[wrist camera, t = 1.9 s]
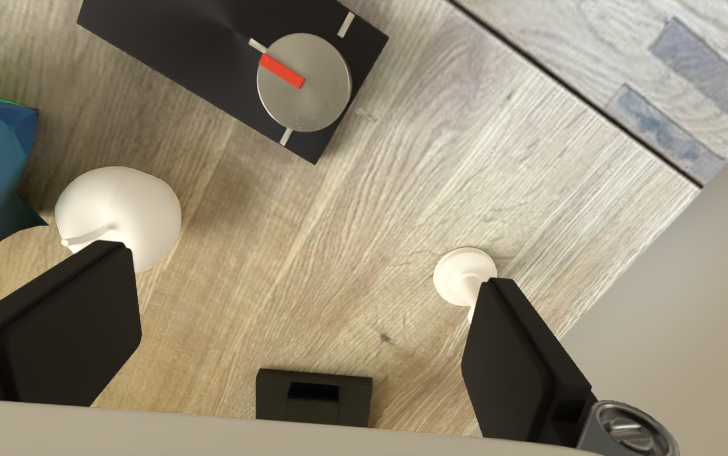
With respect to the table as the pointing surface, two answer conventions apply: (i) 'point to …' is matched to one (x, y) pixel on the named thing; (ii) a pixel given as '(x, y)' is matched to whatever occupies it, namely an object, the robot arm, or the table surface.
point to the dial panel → (235, 50)
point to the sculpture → (15, 166)
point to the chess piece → (463, 276)
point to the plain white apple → (120, 213)
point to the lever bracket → (313, 398)
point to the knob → (304, 82)
